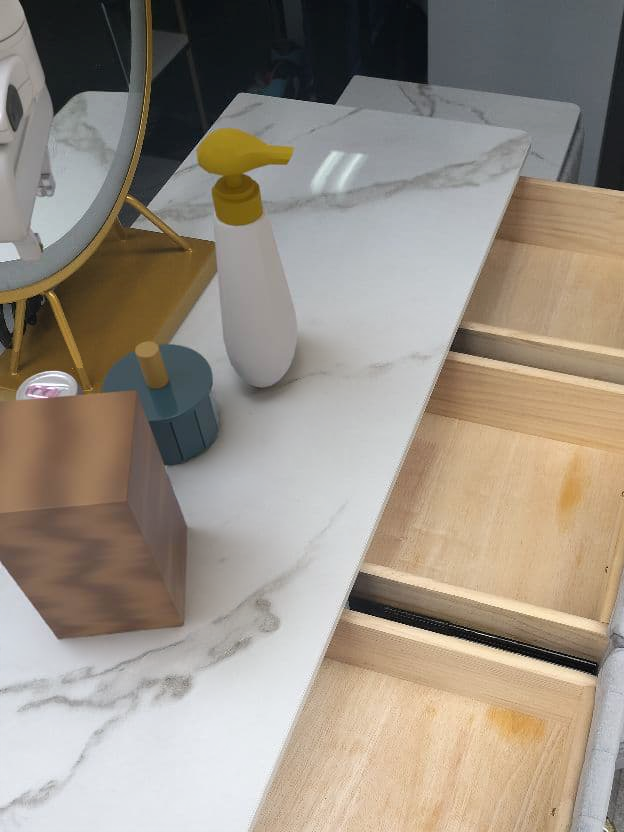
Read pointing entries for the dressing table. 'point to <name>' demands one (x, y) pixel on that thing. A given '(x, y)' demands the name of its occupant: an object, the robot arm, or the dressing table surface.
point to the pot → (188, 433)
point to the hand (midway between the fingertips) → (40, 223)
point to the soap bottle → (249, 258)
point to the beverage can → (48, 386)
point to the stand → (90, 515)
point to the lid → (162, 380)
